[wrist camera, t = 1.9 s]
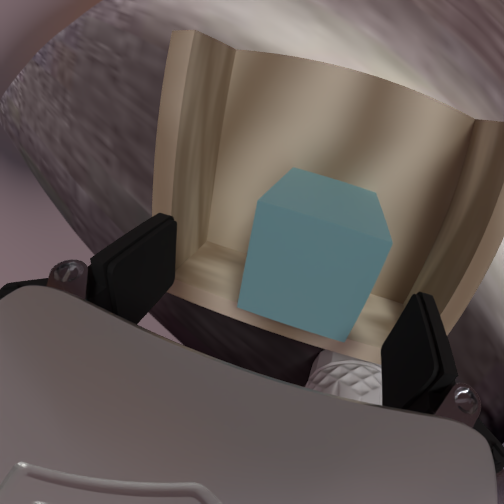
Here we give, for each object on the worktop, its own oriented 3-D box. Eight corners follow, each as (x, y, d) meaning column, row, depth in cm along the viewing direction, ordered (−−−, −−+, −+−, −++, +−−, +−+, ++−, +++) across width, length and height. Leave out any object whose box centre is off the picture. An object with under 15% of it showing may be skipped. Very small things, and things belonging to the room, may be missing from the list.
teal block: (375, 192, 15) (392, 243, 9) (349, 265, 17) (344, 342, 12) (293, 167, 16) (257, 200, 10) (275, 242, 18) (236, 307, 12)
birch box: (486, 127, 11) (535, 136, 6) (408, 316, 18) (417, 373, 13) (221, 50, 14) (172, 30, 10) (194, 247, 21) (152, 286, 17)
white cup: (365, 401, 23) (353, 493, 15) (293, 377, 25) (262, 472, 16) (413, 352, 19) (420, 462, 11) (329, 321, 20) (305, 439, 12)
